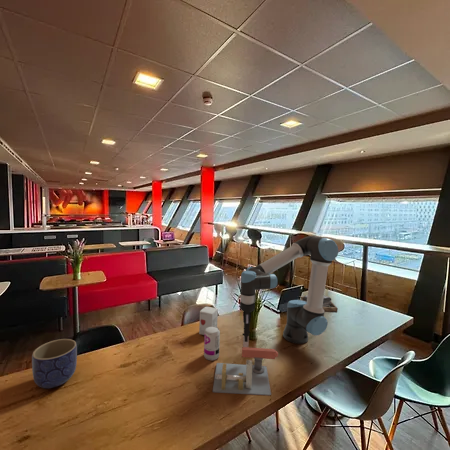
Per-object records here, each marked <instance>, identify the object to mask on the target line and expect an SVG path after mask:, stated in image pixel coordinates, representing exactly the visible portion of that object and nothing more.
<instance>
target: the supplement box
mask: <svg viewBox="0 0 450 450" xmlns="http://www.w3.org/2000/svg"><path fill="white" fill-rule="evenodd" d="M218 311H219V308H217V307H210V306H205V307H203V308H202V309H200V311H199V331H198V332H199V333H198V334H199V335H202V336H204V333H205V330H206V328H207V327H210V326H214V327H217V328H218V316H219V315H218V314H219V312H218Z"/></svg>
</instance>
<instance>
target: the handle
mask: <svg viewBox="0 0 450 450" xmlns="http://www.w3.org/2000/svg"><path fill="white" fill-rule="evenodd" d="M278 356H279V352H278V351H277V350H276V349H275V348H263V347H262V348H261V347H250V346H248V347H243V346H242V348H241V357H242V358H249V359H250V358H252V359H254V361H255V360H259V361H260V360H262V361H263V359H266V360H276V359H277V357H278Z"/></svg>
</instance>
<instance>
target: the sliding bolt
mask: <svg viewBox="0 0 450 450" xmlns="http://www.w3.org/2000/svg"><path fill="white" fill-rule="evenodd" d="M245 365H246V376H239V375H226V381H234V382H239V379H243V382H246V388H250V389H251V386H252V365H253V360H252V359H246V364H245ZM214 380H220V381H222V374H215V373H214V379H213V381H214Z"/></svg>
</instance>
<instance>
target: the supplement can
mask: <svg viewBox="0 0 450 450" xmlns="http://www.w3.org/2000/svg"><path fill="white" fill-rule="evenodd" d="M220 331H221V330H220V328H218V326H217V327H214V326H210V327H207V328H206V330H205V333H204V335H203V337H204V339H203V340H204V342H203V357H204V359H206V360H207V361H216V360H217V359H218V358H219V357H220V341H221V340H220V339H221V338H220V337H221V332H220Z"/></svg>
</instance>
